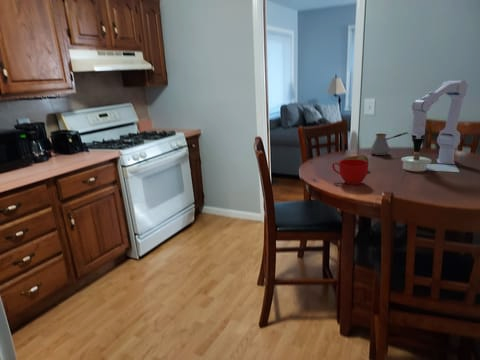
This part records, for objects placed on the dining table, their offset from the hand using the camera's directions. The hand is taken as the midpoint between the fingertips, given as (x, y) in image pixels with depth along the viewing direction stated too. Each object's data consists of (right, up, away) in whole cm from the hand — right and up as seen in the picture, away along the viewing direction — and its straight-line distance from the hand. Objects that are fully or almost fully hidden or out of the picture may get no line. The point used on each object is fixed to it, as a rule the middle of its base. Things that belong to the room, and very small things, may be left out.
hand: (416, 150), depth 176 cm
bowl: (0, -10, +3) cm, 10 cm away
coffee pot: (+1, 0, +36) cm, 36 cm away
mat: (+14, -9, +2) cm, 17 cm away
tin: (-30, -11, +5) cm, 33 cm away
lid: (+1, -5, +1) cm, 6 cm away
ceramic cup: (-40, -17, -14) cm, 45 cm away
